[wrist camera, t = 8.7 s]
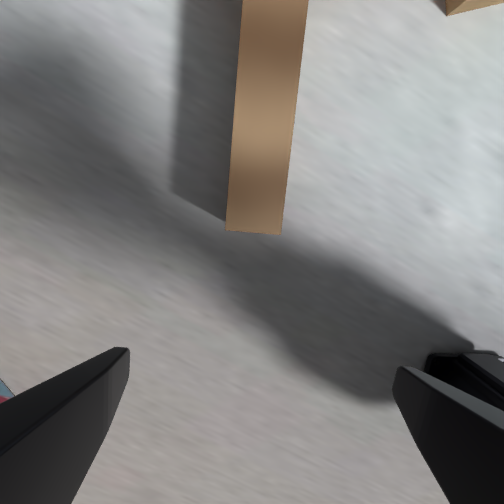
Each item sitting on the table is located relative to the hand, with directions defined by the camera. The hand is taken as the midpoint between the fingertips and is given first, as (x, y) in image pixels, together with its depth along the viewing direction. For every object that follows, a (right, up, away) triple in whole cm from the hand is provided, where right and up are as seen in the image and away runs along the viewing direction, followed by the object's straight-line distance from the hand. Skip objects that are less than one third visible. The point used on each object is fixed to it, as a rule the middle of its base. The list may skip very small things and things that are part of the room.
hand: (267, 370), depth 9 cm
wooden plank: (0, +14, +8) cm, 17 cm away
